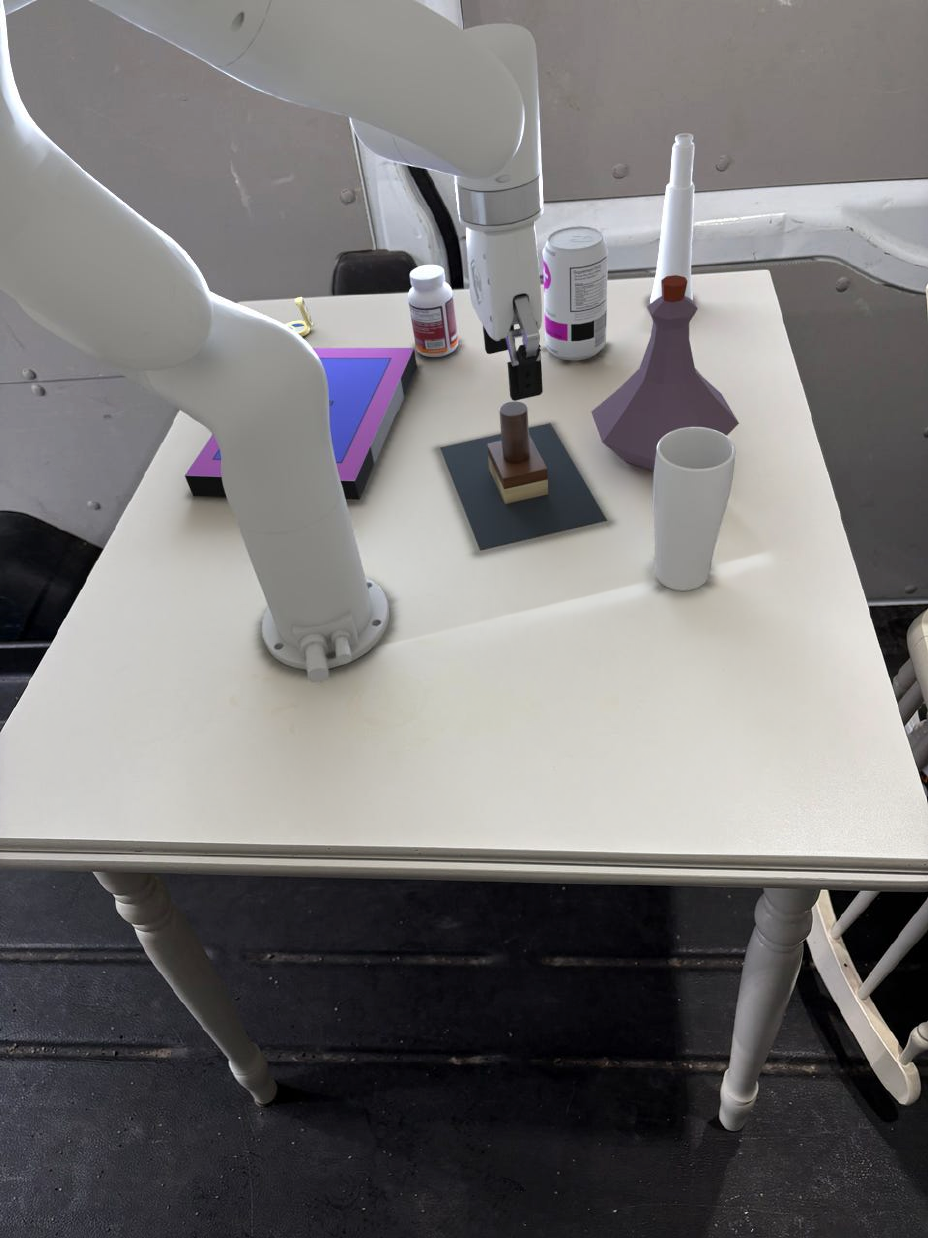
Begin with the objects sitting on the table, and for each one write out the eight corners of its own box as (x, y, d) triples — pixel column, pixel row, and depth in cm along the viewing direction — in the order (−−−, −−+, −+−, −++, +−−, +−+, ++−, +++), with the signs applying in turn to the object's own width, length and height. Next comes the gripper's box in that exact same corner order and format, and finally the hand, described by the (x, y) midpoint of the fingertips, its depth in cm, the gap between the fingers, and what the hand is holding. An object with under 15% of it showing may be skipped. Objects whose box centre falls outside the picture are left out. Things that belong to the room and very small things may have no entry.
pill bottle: (441, 332, 122) (431, 257, 115) (467, 346, 119) (459, 269, 111) (407, 349, 120) (395, 273, 112) (433, 363, 116) (422, 286, 109)
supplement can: (540, 361, 114) (535, 250, 103) (553, 331, 119) (550, 223, 109) (599, 364, 112) (601, 251, 101) (610, 334, 117) (613, 224, 106)
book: (414, 347, 114) (354, 480, 94) (417, 367, 116) (359, 502, 96) (270, 347, 118) (184, 475, 98) (276, 367, 120) (193, 495, 100)
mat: (607, 523, 89) (607, 520, 89) (480, 552, 88) (480, 550, 87) (550, 425, 103) (550, 422, 103) (440, 449, 102) (439, 447, 101)
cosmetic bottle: (701, 302, 121) (719, 134, 105) (668, 315, 119) (681, 146, 103) (673, 288, 125) (687, 124, 109) (641, 301, 123) (650, 136, 107)
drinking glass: (664, 606, 80) (676, 478, 69) (635, 562, 84) (642, 436, 74) (729, 588, 80) (752, 459, 70) (697, 545, 85) (713, 418, 74)
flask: (576, 484, 94) (575, 316, 80) (603, 405, 105) (607, 244, 90) (727, 500, 90) (755, 324, 75) (739, 415, 100) (766, 247, 86)
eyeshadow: (280, 327, 129) (272, 296, 125) (312, 322, 129) (305, 290, 126) (281, 340, 126) (273, 309, 122) (314, 334, 126) (306, 303, 122)
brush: (548, 494, 93) (545, 420, 86) (505, 504, 92) (499, 430, 86) (530, 459, 98) (526, 387, 91) (489, 468, 97) (482, 396, 90)
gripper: (437, 174, 79) (458, 341, 91) (483, 243, 67) (499, 425, 79) (513, 158, 80) (524, 327, 92) (572, 224, 68) (575, 407, 80)
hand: (513, 372), depth 86 cm, fingers open, 9 cm apart
